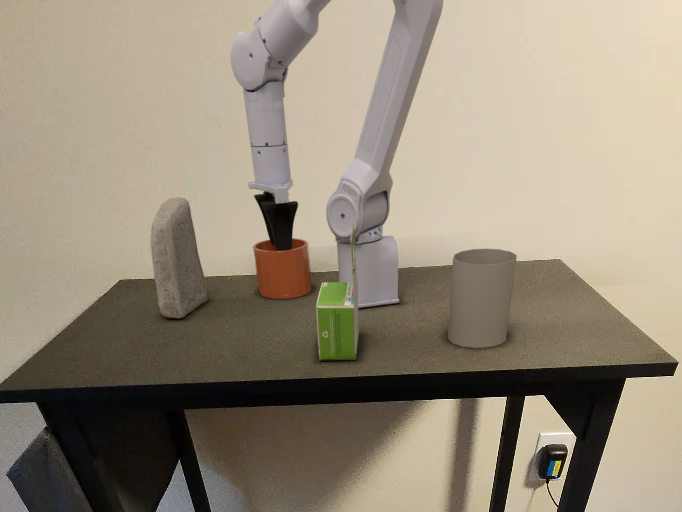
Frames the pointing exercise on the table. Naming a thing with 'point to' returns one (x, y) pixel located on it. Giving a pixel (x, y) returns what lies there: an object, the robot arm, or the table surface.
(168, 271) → the decorative stone
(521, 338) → the table surface
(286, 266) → the cup
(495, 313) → the cup
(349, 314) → the ink box
